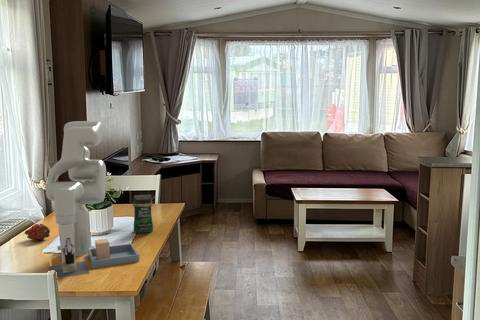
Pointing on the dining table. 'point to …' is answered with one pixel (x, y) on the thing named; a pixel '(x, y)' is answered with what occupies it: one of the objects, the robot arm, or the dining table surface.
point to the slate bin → (115, 255)
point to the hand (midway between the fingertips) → (69, 259)
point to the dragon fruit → (38, 232)
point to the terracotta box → (102, 249)
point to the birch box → (69, 266)
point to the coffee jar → (142, 213)
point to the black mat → (80, 267)
